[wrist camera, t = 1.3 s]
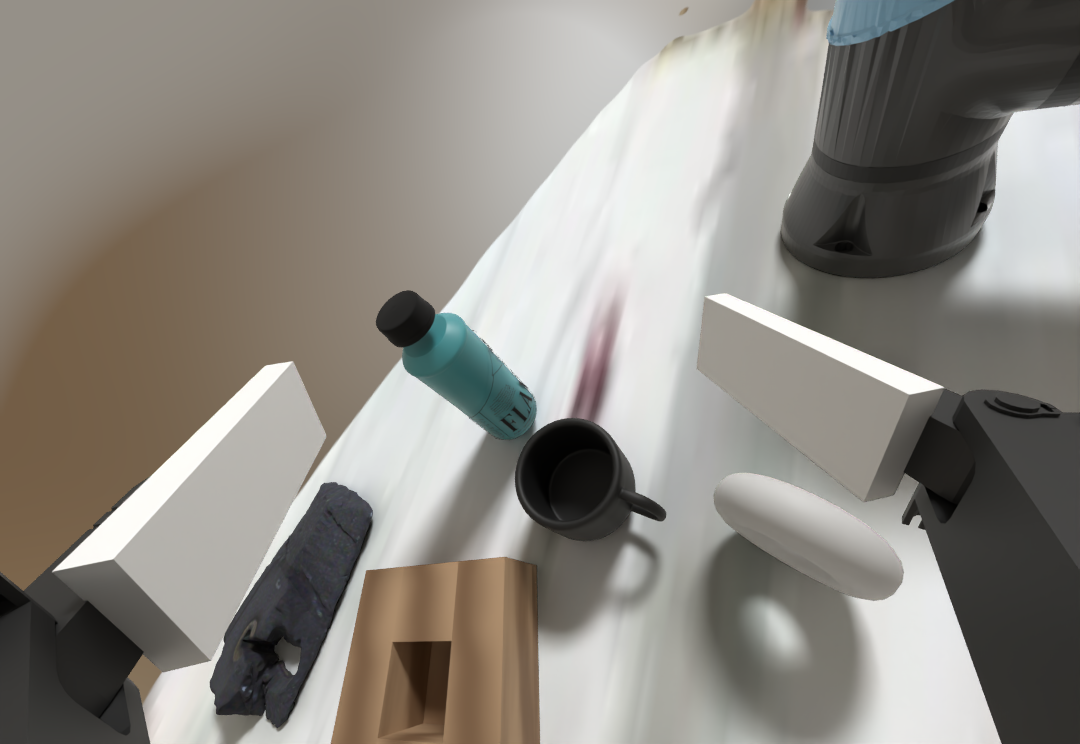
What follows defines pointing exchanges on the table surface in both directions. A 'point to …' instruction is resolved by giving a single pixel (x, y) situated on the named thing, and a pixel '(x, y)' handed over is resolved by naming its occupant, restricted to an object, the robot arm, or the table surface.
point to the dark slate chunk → (290, 607)
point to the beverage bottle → (457, 365)
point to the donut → (810, 535)
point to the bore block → (444, 656)
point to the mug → (578, 481)
